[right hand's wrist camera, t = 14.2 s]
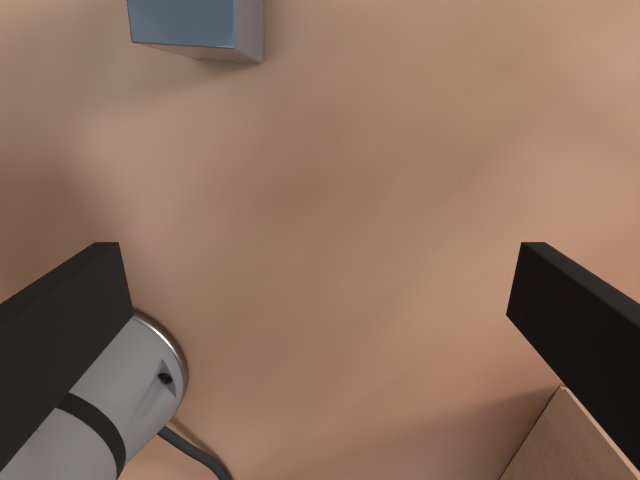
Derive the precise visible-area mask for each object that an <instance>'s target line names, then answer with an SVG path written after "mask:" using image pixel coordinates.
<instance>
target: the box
mask: <svg viewBox="0 0 640 480" xmlns="http://www.w3.org/2000/svg"><path fill="white" fill-rule="evenodd" d="M500 480H640V472H639V471H638V470H637V469H636V468H635V466H634V465H633V464H632V463H631V462H630V461H629V459H628V458H627V457H626V456H625V455H624V453H623V452H622V451H621V450H620V449H619V448H618V446H617V445H616V444H615V443H614V442H613V440H612V439H611V438H610V437H609V436H608V435H607V433H606V432H605V431H604V430H603V429H602V428H601V426H600V425H599V424H598V423H597V422H596V420H595V419H594V418H593V417H592V416H591V415H590V413H589V412H588V411H587V410H586V409H585V407H584V406H583V405H582V404H581V403H580V402H579V400H578V399H577V398H576V397H575V396H574V394H573V393H572V392H571V391H570V390H569V389H568V388H565V387H561V386H560V387H559V388H558V390H557V392H556V393H555V395H554V396H553V398H552V399H551V401H550V402H549V404H548V405H547V407H546V409H545V410H544V412H543V413H542V415H541V416H540V418H539V419H538V421H537V423H536V424H535V426H534V427H533V429H532V430H531V432H530V433H529V435H528V436H527V438H526V440H525V441H524V443H523V444H522V446H521V447H520V449H519V450H518V452H517V454H516V455H515V457H514V458H513V460H512V461H511V463H510V464H509V466H508V467H507V469H506V471H505V472H504V474H503V475H502V477H501V478H500Z"/></svg>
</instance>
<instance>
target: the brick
mask: <svg viewBox="0 0 640 480" xmlns="http://www.w3.org/2000/svg"><path fill="white" fill-rule="evenodd" d="M127 7H128V15H129V24H130V33H131V41H132V43H135V44H139V45H143V46H147V47H150V48H154V49H158V50H162V51H166V52H169V53H173V54H177V55H181V56H184V57H188V58H192V59H204V60H219V61H235V62H251V63H263V62H264V0H127Z"/></svg>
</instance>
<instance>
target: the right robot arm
mask: <svg viewBox="0 0 640 480" xmlns="http://www.w3.org/2000/svg"><path fill="white" fill-rule="evenodd" d="M506 316H507V317H508V318H509V319H510V320H511V321H512V323H513V324H514V325H515V326H516V327H517V328H518V330H519V331H520V332H521V333H522V334H523V336H524V337H525V338H526V339H527V340H528V341H529V343H530V344H531V345H532V346H533V347H534V349H535V350H536V351H537V352H538V353H539V354H540V356H541V357H542V358H543V359H544V360H545V361H546V363H547V364H548V365H549V366H550V367H551V369H552V370H553V371H554V372H555V373H556V374H557V376H558V377H559V378H560V379H561V380H562V382H563V383H564V384H565V385H566V386H567V387H568V389H569V390H570V391H571V392H572V393H573V394H574V396H575V397H576V398H577V399H578V400H579V402H580V403H581V404H582V405H583V406H584V407H585V409H586V410H587V411H588V412H589V413H590V415H591V416H592V417H593V418H594V419H595V420H596V422H597V423H598V424H599V425H600V426H601V428H602V429H603V430H604V431H605V432H606V433H607V435H608V436H609V437H610V438H611V439H612V440H613V442H614V443H615V444H616V445H617V446H618V448H619V449H620V450H621V451H622V452H623V453H624V455H625V456H626V457H627V458H628V459H629V461H630V462H631V463H632V464H633V465H634V466H635V468H636V469H637V470H638V471H639V472H640V304H639V303H637V302H636V301H634V300H633V299H631V298H630V297H628V296H627V295H625V294H623V293H622V292H620V291H619V290H617V289H616V288H614V287H613V286H611V285H610V284H608V283H607V282H605V281H604V280H602V279H600V278H599V277H597V276H596V275H594V274H593V273H591V272H590V271H588V270H587V269H585V268H584V267H582V266H581V265H579V264H577V263H576V262H574V261H573V260H571V259H570V258H568V257H567V256H565V255H564V254H562V253H561V252H559V251H558V250H556V249H554V248H553V247H551V246H550V245H548V244H547V243H545V242H521V247H520V251H519V256H518V261H517V265H516V270H515V275H514V280H513V284H512V289H511V294H510V298H509V303H508V308H507V313H506ZM187 384H188V369H187V364H186V360H185V357H184V355H183V353H182V351H181V349H180V347H179V345H178V344H177V342H176V341H175V340H174V338H173V337H172V336H171V335H170V333H169V332H168V331H167V330H166V329H165V328H164V327H162V326H161V325H160V324H159V323H158V322H156V321H155V320H154V319H152V318H151V317H149V316H148V315H146V314H144V313H142V312H140V311H139V310H136V309H134V308H132V303H131V298H130V294H129V289H128V284H127V280H126V275H125V270H124V265H123V261H122V256H121V251H120V247H119V242H95V243H93V244H92V245H90V246H89V247H87V248H86V249H84V250H82V251H81V252H79V253H78V254H76V255H75V256H73V257H72V258H70V259H69V260H67V261H66V262H64V263H63V264H61V265H59V266H58V267H56V268H55V269H53V270H52V271H50V272H49V273H47V274H46V275H44V276H43V277H41V278H40V279H38V280H36V281H35V282H33V283H32V284H30V285H29V286H27V287H26V288H24V289H23V290H21V291H20V292H18V293H17V294H15V295H13V296H12V297H10V298H9V299H7V300H6V301H4V302H3V303H1V304H0V480H118V478H119V476H120V474H121V472H122V471H123V469H124V467H125V465H126V464H127V463H128V462H129V461H130V460H131V459H132V458H133V457H134V456H135V455H136V454H137V453H138V452H139V451H140V450H141V449H142V448H143V447H144V446H145V445H146V444H147V443H148V442H149V441H150V440H151V439H152V438H153V437H154V436H155V435H156V434H157V435H159V436H160V437H161V438H163V439H164V440H166V441H167V442H169V443H170V444H172V445H173V446H175V447H176V448H178V449H179V450H181V451H182V452H184V453H185V454H187V455H188V456H190V457H192V458H194V459H195V460H197V461H199V462H201V463H202V464H204V465H206V466H207V467H208V468H209V469H210V470H212V471H213V473H214V474H215V475H216V476H217V477H218V479H219V480H230V478H229V476H228V475H227V473H226V471H225V470H224V469H223V467H222V466H221V465H220V464H219V463H218V462H217V461H216V460H215V459H214V458H213V457H212V456H210V455H209V454H207V453H206V452H204V451H202V450H200V449H199V448H197V447H195V446H194V445H192V444H190V443H189V442H187V441H186V440H185V439H183V438H182V437H180V436H179V435H177V434H176V433H175V432H173V431H172V430H170V429H169V428H167V427H166V426H165V425H166V424H167V423H168V422H169V420H170V419H171V418H172V416H173V415H174V413H175V412H176V410H177V409H178V407H179V405H180V403H181V401H182V399H183V397H184V394H185V392H186V389H187Z"/></svg>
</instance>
